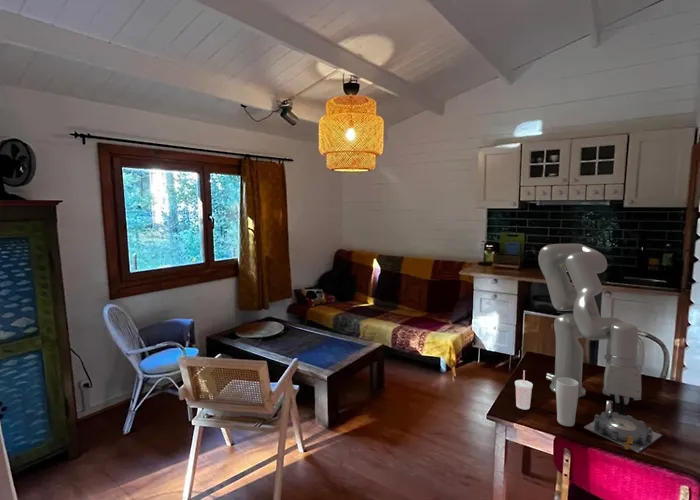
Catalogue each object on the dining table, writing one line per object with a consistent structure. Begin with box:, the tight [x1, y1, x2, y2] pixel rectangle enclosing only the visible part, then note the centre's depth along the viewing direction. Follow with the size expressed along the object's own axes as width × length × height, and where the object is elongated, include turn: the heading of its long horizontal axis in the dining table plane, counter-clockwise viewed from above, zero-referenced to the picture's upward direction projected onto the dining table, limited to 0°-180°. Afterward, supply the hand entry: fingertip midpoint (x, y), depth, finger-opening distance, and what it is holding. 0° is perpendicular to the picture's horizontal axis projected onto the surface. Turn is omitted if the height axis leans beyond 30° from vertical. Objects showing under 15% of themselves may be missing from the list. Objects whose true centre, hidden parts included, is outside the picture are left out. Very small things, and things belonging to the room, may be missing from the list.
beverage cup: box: [514, 369, 534, 410], centre depth 146 cm, size 6×6×14 cm
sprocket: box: [593, 400, 653, 444], centre depth 129 cm, size 16×16×7 cm
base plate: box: [583, 421, 663, 453], centre depth 128 cm, size 16×18×1 cm
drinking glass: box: [555, 377, 579, 427], centre depth 134 cm, size 7×7×15 cm
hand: (620, 413), depth 132 cm, fingers closed
